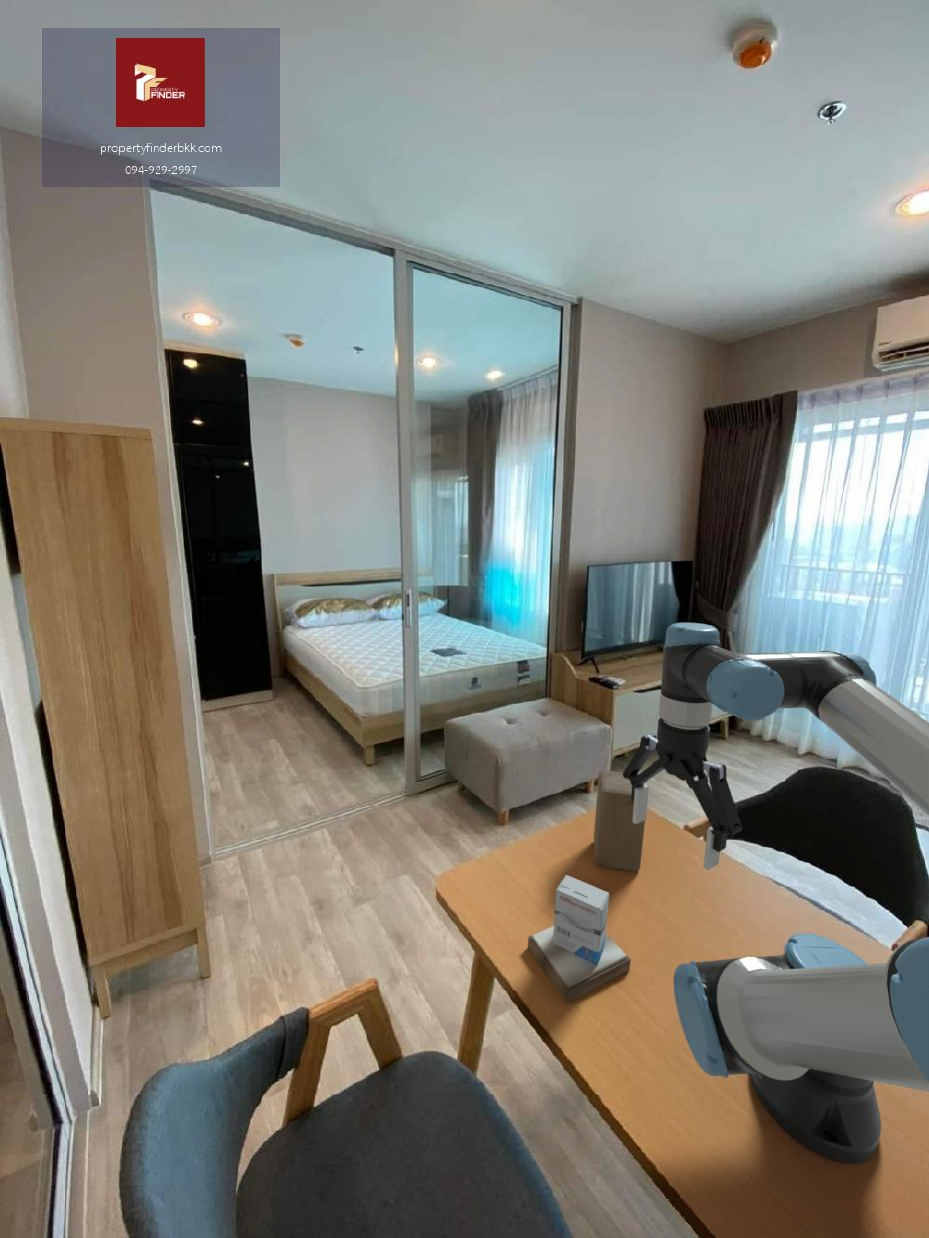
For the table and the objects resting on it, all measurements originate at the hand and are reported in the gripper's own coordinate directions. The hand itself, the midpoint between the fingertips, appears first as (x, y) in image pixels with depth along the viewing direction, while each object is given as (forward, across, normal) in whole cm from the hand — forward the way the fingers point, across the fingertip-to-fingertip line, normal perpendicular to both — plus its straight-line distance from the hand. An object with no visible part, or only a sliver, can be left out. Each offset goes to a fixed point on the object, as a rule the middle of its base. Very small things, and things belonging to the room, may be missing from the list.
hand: (672, 841), depth 82 cm
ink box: (+25, +11, +9) cm, 29 cm away
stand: (+28, +11, +9) cm, 31 cm away
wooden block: (+27, +27, -18) cm, 42 cm away
